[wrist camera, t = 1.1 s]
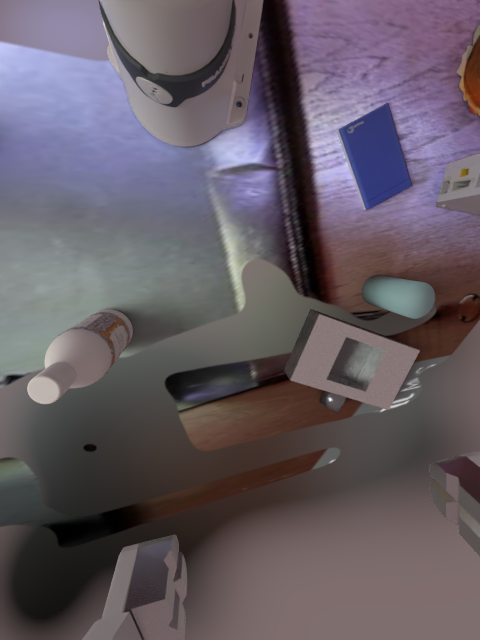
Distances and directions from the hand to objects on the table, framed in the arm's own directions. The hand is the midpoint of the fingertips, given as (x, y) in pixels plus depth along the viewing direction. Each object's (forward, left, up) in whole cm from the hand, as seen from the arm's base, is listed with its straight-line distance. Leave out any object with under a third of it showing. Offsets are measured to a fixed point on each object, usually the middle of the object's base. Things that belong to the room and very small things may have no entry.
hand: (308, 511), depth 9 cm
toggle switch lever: (-10, +25, -39) cm, 47 cm away
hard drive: (-28, +15, -40) cm, 51 cm away
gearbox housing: (+5, +25, -39) cm, 47 cm away
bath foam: (+11, -15, -39) cm, 43 cm away
